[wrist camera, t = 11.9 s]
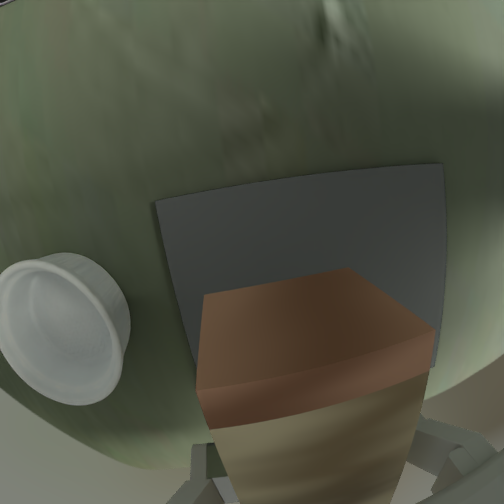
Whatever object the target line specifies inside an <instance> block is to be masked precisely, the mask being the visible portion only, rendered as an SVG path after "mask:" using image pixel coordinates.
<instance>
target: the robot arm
mask: <svg viewBox="0 0 504 504" xmlns="http://www.w3.org/2000/svg"><path fill="white" fill-rule="evenodd" d="M406 461H407V462H409V463H411V464H413V465H415V466H417V467H419V468H421V469H423V470H425V471H427V472H429V473H431V474H433V475H435V476H437V479H436V481H435V483H434V485H433V487H432V489H431V491H432V493H433V495H432V496H430V497H428V498H426V499H424V500H422V501H420V502H418V503H416V504H504V448H503V449H502V450H501V451H500V452H497V451H496V450H495V448H494V447H493V446H492V445H491V444H490V443H489V442H488V441H487V440H486V439H485V438H484V437H483V435H482V434H481V433H478V432H475V431H471V430H467V429H464V428H460V427H457V426H453V425H450V424H446V423H443V422H440V421H437V420H433V419H430V418H429V419H425V418H424V417H423V415H422V414H421V413H420V416H419V419H418V423H417V427H416V430H415V434H414V437H413V441H412V444H411V447H410V450H409V453H408V456H407V459H406ZM190 474H191V475H190V480H189V481H185V483H184V484H183V485H182V486H181V487H180V488H179V490H178V491H177V492H176V493H175V494H174V495H173V496H172V497H171V499H170V500H169V501H168V502H167V503H166V504H225V503H233V502H239V500H238V498H237V495H236V493H235V491H234V489H233V486H232V484H231V482H230V479H229V477H228V475H227V472H226V470H225V468H224V465H223V463H222V460H221V458H220V456H219V453H218V451H217V448H216V445H215V443H205V444H193V446H192V449H191V472H190Z"/></svg>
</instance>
